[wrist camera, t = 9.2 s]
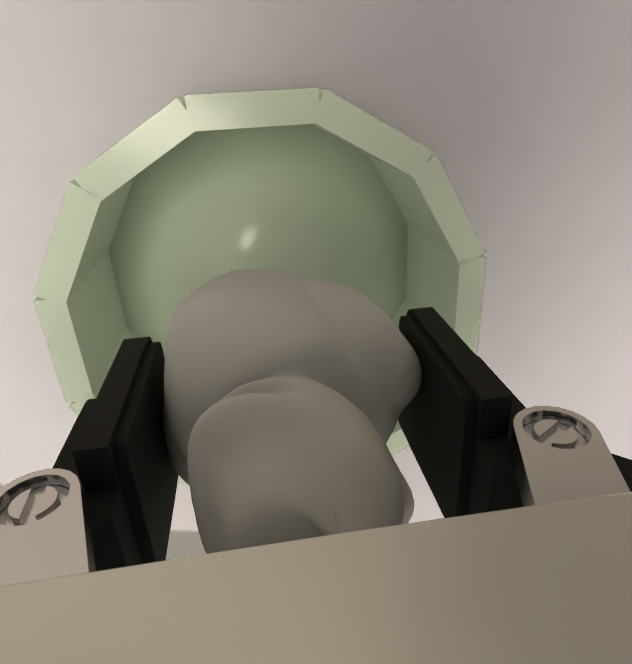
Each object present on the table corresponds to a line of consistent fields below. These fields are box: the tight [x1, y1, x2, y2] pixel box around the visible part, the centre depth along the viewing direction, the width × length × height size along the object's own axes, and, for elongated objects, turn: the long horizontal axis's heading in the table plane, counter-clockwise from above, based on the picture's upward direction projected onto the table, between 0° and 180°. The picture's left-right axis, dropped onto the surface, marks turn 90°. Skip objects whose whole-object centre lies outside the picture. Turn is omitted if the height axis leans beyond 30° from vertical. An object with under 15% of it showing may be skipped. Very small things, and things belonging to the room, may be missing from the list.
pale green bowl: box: [34, 87, 486, 487], centre depth 17 cm, size 13×13×6 cm
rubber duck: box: [163, 269, 422, 554], centre depth 9 cm, size 5×7×8 cm
